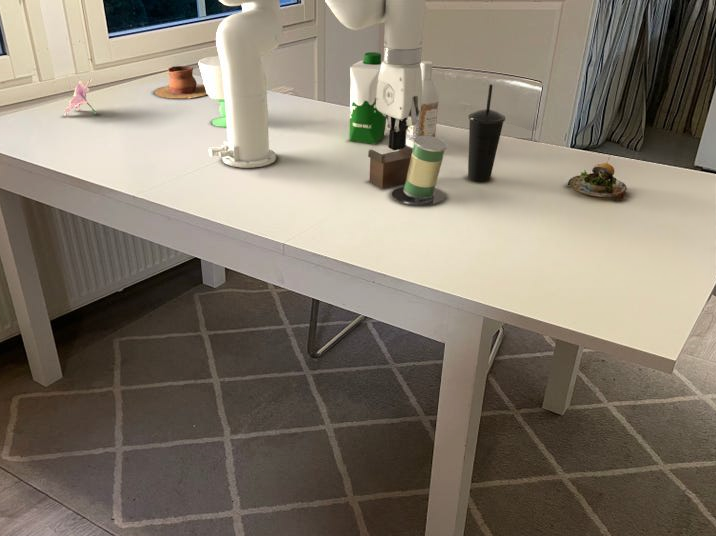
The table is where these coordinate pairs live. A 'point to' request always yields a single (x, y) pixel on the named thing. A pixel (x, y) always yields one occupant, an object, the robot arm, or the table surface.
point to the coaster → (404, 199)
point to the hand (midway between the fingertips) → (396, 148)
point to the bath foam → (425, 107)
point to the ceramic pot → (181, 84)
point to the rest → (389, 167)
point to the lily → (79, 97)
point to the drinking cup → (483, 141)
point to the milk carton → (365, 101)
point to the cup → (214, 84)
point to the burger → (599, 182)
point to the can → (424, 167)
